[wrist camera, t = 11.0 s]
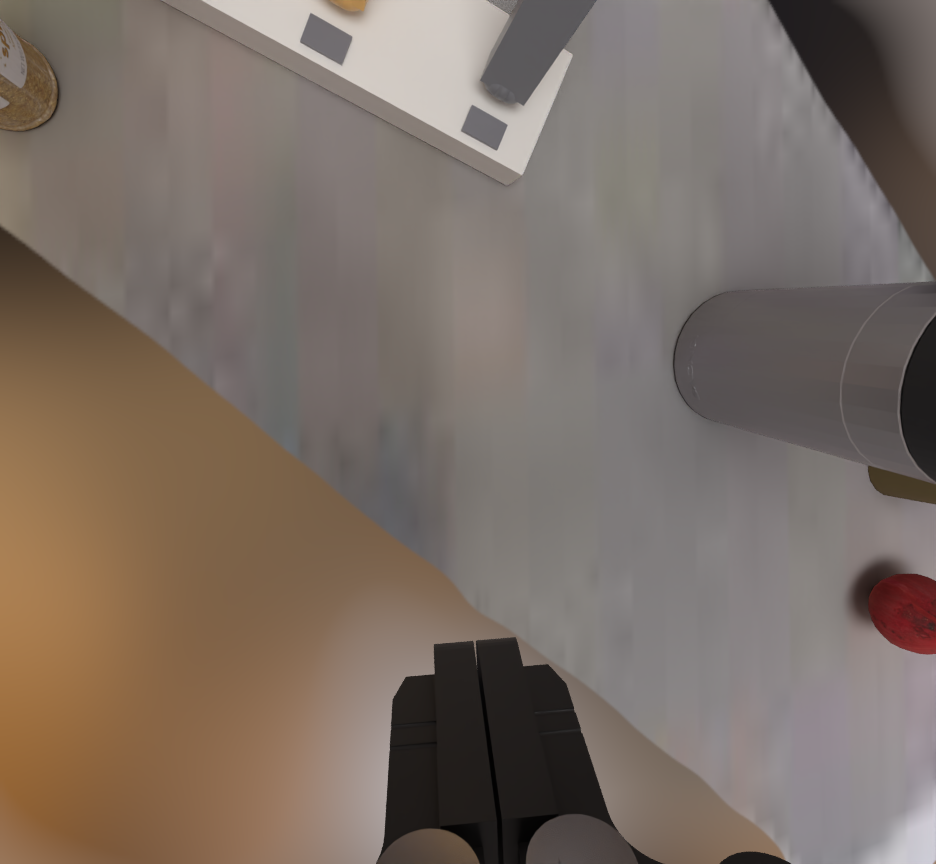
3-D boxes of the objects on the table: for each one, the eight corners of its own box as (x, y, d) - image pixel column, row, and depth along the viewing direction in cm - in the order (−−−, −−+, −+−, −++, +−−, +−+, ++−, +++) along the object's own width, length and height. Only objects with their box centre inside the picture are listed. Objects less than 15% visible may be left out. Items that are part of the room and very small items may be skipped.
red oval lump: (831, 612, 49) (924, 667, 42) (864, 549, 49) (964, 593, 41) (881, 632, 51) (979, 688, 43) (913, 571, 50) (1018, 617, 43)
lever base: (553, 75, 36) (575, 52, 33) (507, 186, 37) (523, 174, 34) (136, -180, 30) (113, -238, 26) (88, -39, 30) (60, -80, 27)
